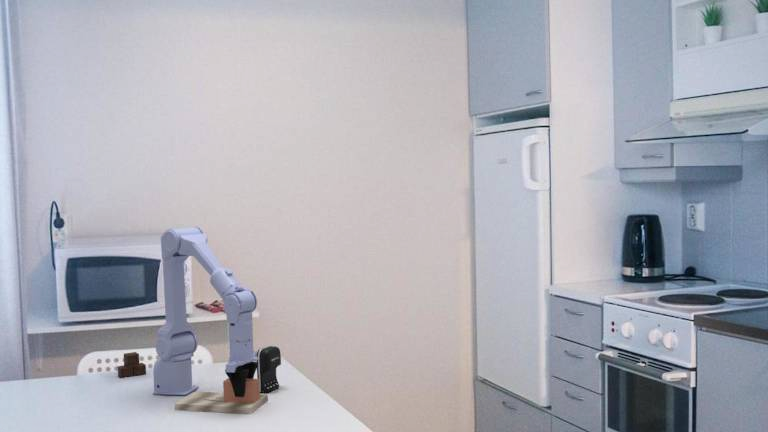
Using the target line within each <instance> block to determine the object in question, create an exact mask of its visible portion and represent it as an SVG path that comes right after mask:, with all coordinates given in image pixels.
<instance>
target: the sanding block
mask: <svg viewBox="0 0 768 432" xmlns="http://www.w3.org/2000/svg"><path fill="white" fill-rule="evenodd" d="M222 383H223V384H222V387H223V393H224V402H243V403H255V402H256V401H258V400H259V399H260V395H261V392H260V386H259V379H257V378H253V379H248V378H246V384H245V394H244V397H235V394H234V391H233V387H232V384H231V381H230V379H229V377H228V378H227V379H225V380H223V381H222Z"/></svg>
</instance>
